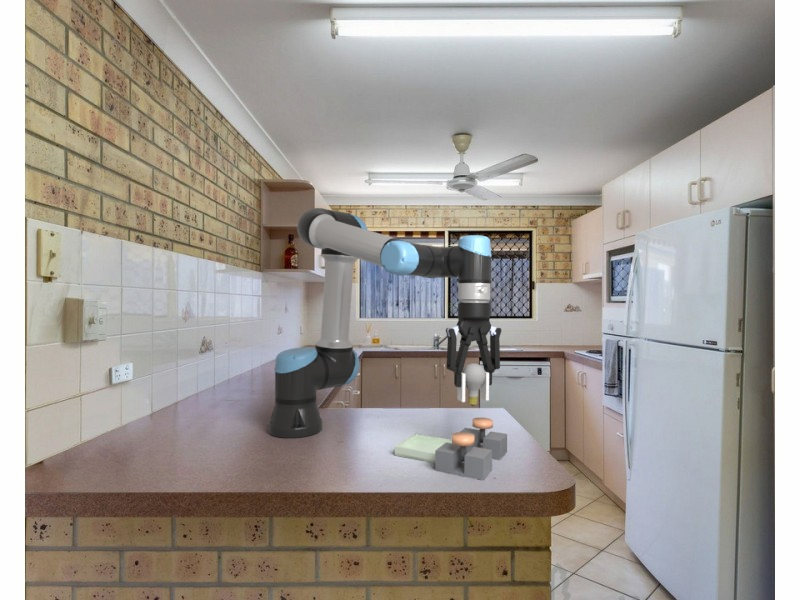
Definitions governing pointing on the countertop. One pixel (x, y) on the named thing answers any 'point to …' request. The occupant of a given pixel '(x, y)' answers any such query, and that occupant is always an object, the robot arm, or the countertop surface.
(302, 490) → the countertop surface
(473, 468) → the socket housing
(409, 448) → the tray
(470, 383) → the light bulb
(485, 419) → the orange mushroom knob
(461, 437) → the plunger
